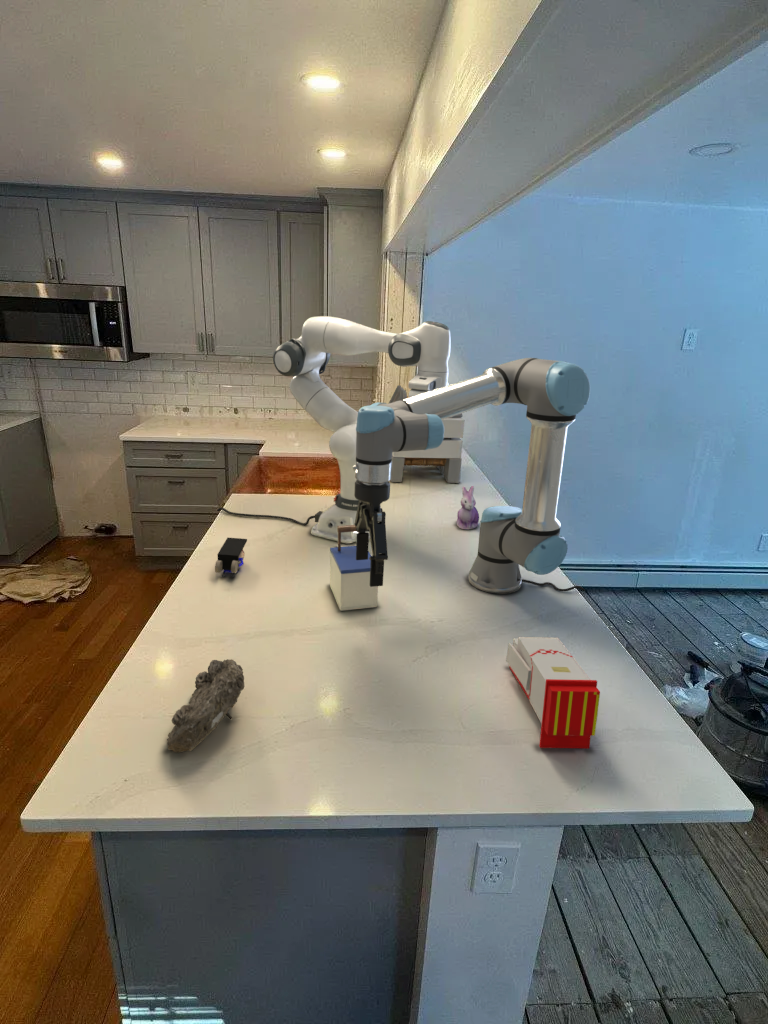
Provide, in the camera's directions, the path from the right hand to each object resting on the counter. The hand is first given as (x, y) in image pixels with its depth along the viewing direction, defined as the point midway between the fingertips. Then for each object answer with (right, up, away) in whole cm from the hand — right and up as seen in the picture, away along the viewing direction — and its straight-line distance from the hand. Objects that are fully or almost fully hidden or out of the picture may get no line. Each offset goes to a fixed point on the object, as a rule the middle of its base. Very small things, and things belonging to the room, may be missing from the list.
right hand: (368, 571), depth 127 cm
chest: (-5, -10, +29) cm, 31 cm away
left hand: (+17, +38, +42) cm, 59 cm away
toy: (+36, -26, -10) cm, 45 cm away
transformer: (+21, +32, +148) cm, 153 cm away
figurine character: (-41, -4, +41) cm, 58 cm away
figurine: (+34, +8, +84) cm, 91 cm away
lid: (-5, 0, +26) cm, 26 cm away
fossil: (-29, -26, -19) cm, 43 cm away
